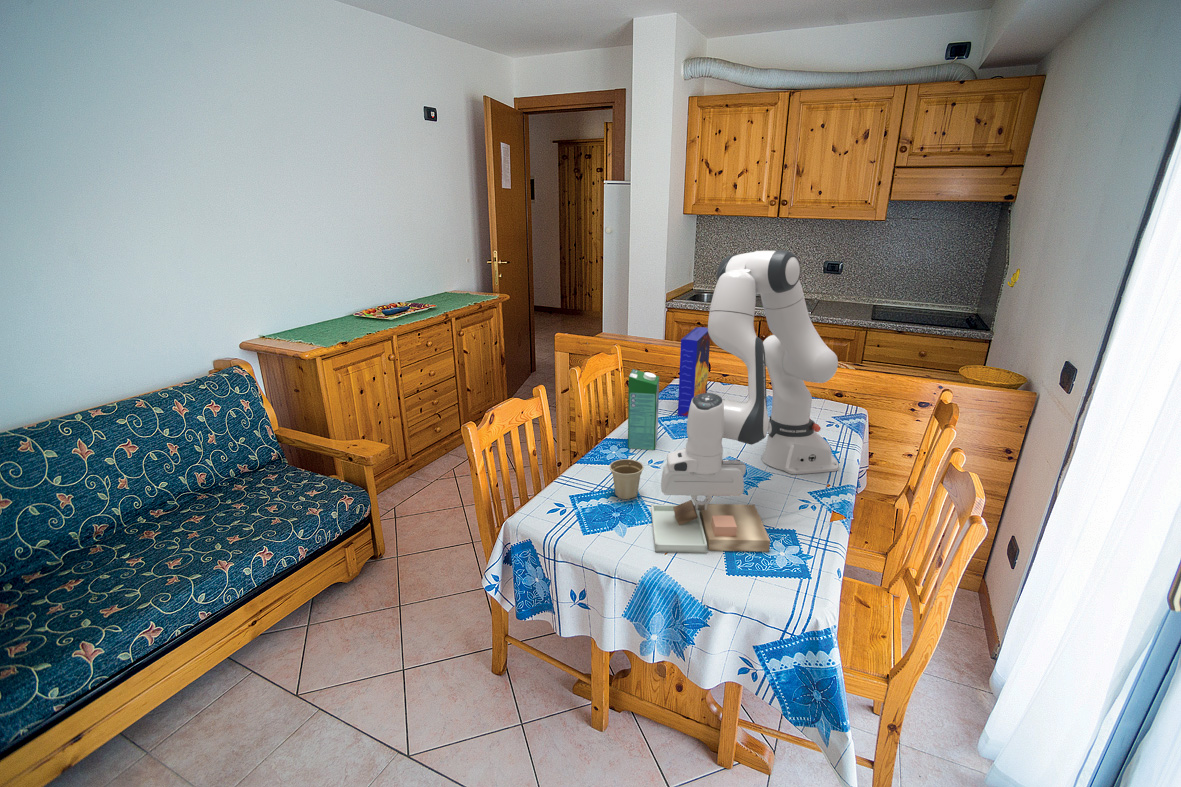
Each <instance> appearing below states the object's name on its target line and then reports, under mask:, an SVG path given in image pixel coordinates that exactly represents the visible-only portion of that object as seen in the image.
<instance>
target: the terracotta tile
mask: <svg viewBox="0 0 1181 787" xmlns="http://www.w3.org/2000/svg"><path fill="white" fill-rule="evenodd" d="M711 524H712V528H713V532H714V535H715V536H736V533H737V526H736V523H735V520H734V517H733V516H726V515H712V523H711Z"/></svg>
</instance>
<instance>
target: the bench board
mask: <svg viewBox="0 0 1181 787" xmlns="http://www.w3.org/2000/svg"><path fill="white" fill-rule="evenodd" d="M699 514H700V518H701V522H702V526H703V530H704V534H705V538H706V542H707V551H716V552H717V551H719V552H720V551H724V552H766V553H767V552H770V545H771V539H770V536H769V534H768V532H767V530H766V528H765V525H764V524H763V521H762V518H761V517H760V514H759V513H758V510H757V508H756V506H755V504H737V503H736V504H734V503H733V504H731V503H730V504H729V503H726V504H725V503H719V504H718V503H708V505H707V510H699ZM712 515H726V516H733V517H734V520H735V523H736V526H737V533H736V536H715V535H714V532H713V528H712V524H711V523H712Z"/></svg>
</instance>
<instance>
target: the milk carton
mask: <svg viewBox="0 0 1181 787" xmlns="http://www.w3.org/2000/svg"><path fill="white" fill-rule="evenodd" d="M659 390H660V376H658V375H656V374H655V373H653V372H646V371H642V370H638V369H636V368H635V369H634V368H632V369H631V371H630V374H629V376H628V397H627V398H628V400H627V401H628V402H627V403H628V404H627V406H628V408H627V409H628V410H627V411H628V412H627V448H628V449H635V450H649V451H650V450H651V451H656V448H657V443H658V433H659V432H658V431H659V430H658V429H659V428H658V427H659V400H660V399H659V396H660V395H659V394H660V393H659V392H660V391H659Z"/></svg>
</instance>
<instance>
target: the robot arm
mask: <svg viewBox="0 0 1181 787" xmlns="http://www.w3.org/2000/svg"><path fill="white" fill-rule="evenodd" d="M801 270H802V269H801V262H800V259H799V258H798V257H797V256H796V255H795V253H794V252H792V251H789V250H782V249H778V250H755V251H752V252H751V251H750V252H746V253H739V254H737V253H733V254H731V255H728V256H726V257H724V258H723V259H722V260H721V262H720V263H719V265H718V266H717V270H716V285H715V288H714V290H713V294H712V298H711V302H710V308H709V313H708V322H707V328H708V333H709V336H710V340H711V341H712V343H714V344H715V345H716V346H717V347H718V348H720V349H722V350H723V351H726V352H727V353H730V354H731V355H733V356H734V357H736V358H738V359H740V360H741V361H742V362H743V363H744V365H745V366H746V368H747V379H748V380H747V382H748V383H747V387H748V388H747V389H748V399H747V401H745V402H743V401H737V400H731V399H725V398H722V397H721V396H720V395H718V394H716V393H712V392H707V393H702V394H698V395H696V396H695V397H693V399H692V401H691V404H690V408H689V413H688V417H687V421H686V433H687V442H686V444H685V448H681V449H678V450H674V451H671V452H668V453H667V456H666V463H665V465H664V466H663V468H662V469H663V470H662V473H661V480H660V490H661V492H662V494H663V495H665V496H690V497H691V500H692V502H693V504H694V505H695V510H699V511H700V510H707V505H708V504H710V502H711V501H712V500H713V497H740V496H742V495H743V494H744V491H745V483H744V476H745V474H746V472H747V470H746V469H747V466H746V464H745V462H743V461H741V460H740V459H723V451H724V447H723V443H722V442H723V439H728V440H733V441H738V442H740V443H743V444H747V445H751V446H752V445H755V444H757V443H759V442H761V441H762V440H764V439H765V438H766V437H767V440H766V443H765V447H764V450H763V453H762V454H761V460H762V462H763V463H764V464H766V465H767V466H769V467H772V468H774V469H777V470H781V471H784V472H785V473H787V474H790V475H802V474H803V475H804V474H815V473H829V472H837V471H838V470H839V469H840V468H839V466H840V465H839V462H838V460H837V458H836V457H835V456H834V455H833V454H832V448H831V446H830V444H829V442H827V440H825V438H824V437H822V436H821V435H820V434H819V432H820V431H821V428H822V427H821V426H820V424H818V423H816V422H815V421H814V420H813V419H811V418H810V416H811V410H812V402H813V398H812V394H811V392H810V390H809V389H808V387H807V386H806V384H805V382H808V383H809V382H810V383H817V384H825V383H827V382H828V381H829V380H832V378H833V377H834V376H835V374H836V372H837V370H838V366H839V361H838V360H839V359H838V356H837V354H836V353H835V352H834V351H833V350H832V349H831V348H830V347H828V346H827V344H826V343H825V342H824V341H823V338H821V336H820V334H819V333H818V331H817V330H816V328H815V326H814V324H813V322H812V320H811V318H810V315H809V310H808V307H807V303H806V300H805V296H804V295H805V294H804V290H803V287H802V284H801V281H800V278H801ZM757 295H760V298H761V304H762V308H763V312H764V315H765V318H766V322H767V327H768V329H769V331H770V332H771V335H769V336H767V337H766V338H765V339H764V340H763V339H761V338H760V337H758V336H757V334H756V330H755V325H754V324H755V323H754V322H755V321H754V320H755V313H756V302H757V301H756V300H757ZM767 372H768V376H769V379H770V383H771V388H772V389H771V390H772V402H771V415H770V416H769V414H768V405H767ZM767 434H768V436H767ZM700 496H701V497H702V496H704V497H705V498H704V499H703V500H698V497H700Z"/></svg>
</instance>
